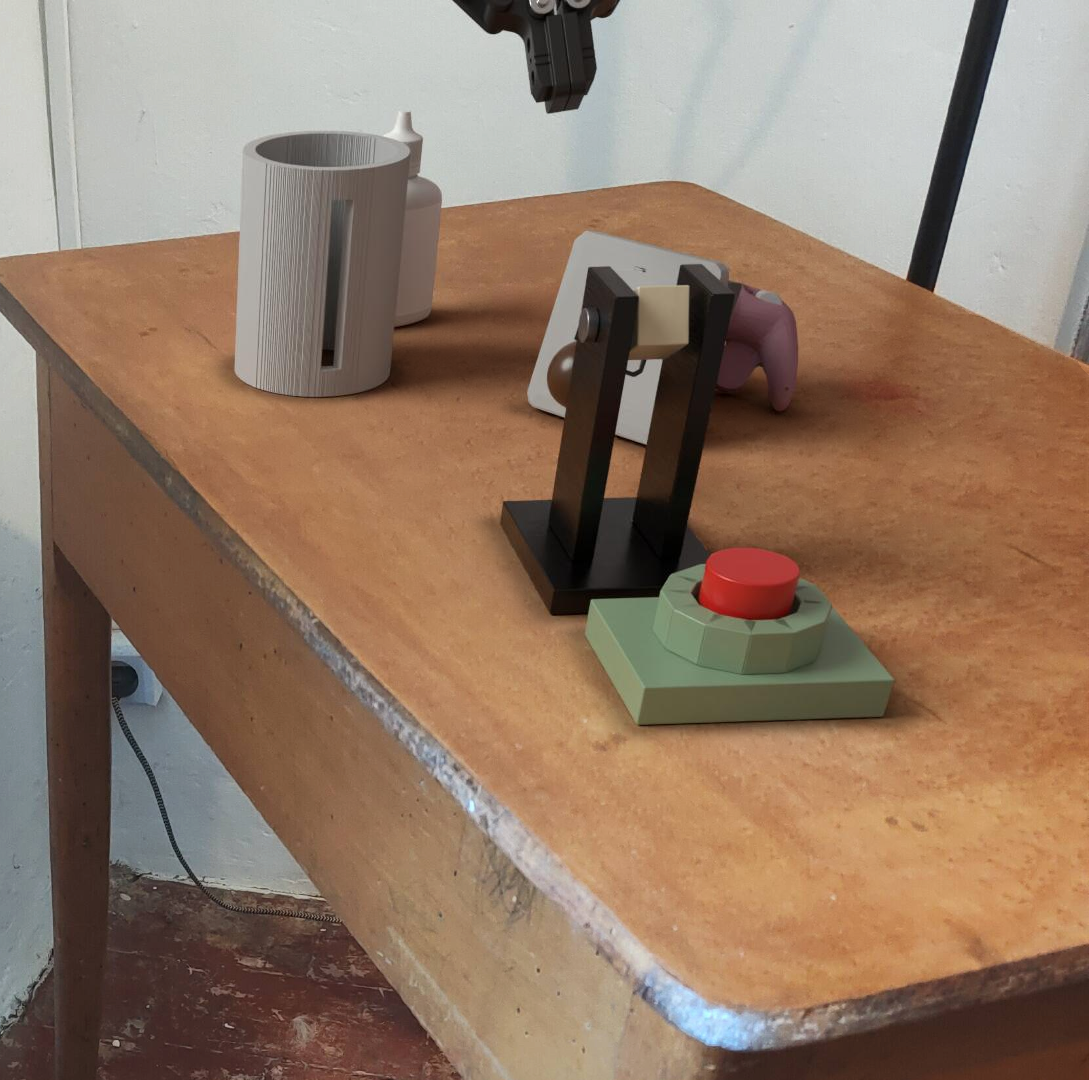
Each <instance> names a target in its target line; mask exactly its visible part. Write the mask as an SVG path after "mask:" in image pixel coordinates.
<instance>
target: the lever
mask: <svg viewBox="0 0 1089 1080" xmlns="http://www.w3.org/2000/svg"><path fill="white" fill-rule="evenodd" d="M689 291H690V287H689V285H677V286H642V287H638V288H637V289H635V290H634V292H635V293H636V294H637V295H638V296H639V302H638V307H637V313H636V319H635V324H634V330H633V336H632V341H631V347H630V353H629V358H628V360H652V359H666V358H668V357H669V356H671V355H672V354H674V353H675V352H677V351H678V350H680V349H681V348H683V347H684V346H686V345H688V343H689ZM576 342H577V341H574V342H572V343H569V344H567V345H565V346H564V347H563V348H561V349H560V350H559V351H558V352H557V353H556V354H555V356H554V357H553V359H552V360H551V362H550V365H549V368H548V372H547V385H548V389H549V392H550V394H551V396H552V397H553V398H554V400H555V401H556V402H557V403H559V404H560V405H562V406H563V407H565V408H566V406H567V399H568V393H569V387H570V380H571V374H572V367H573V361H574V355H575V348H576Z"/></svg>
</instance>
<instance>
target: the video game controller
mask: <svg viewBox="0 0 1089 1080" xmlns="http://www.w3.org/2000/svg"><path fill="white" fill-rule="evenodd" d="M737 282H738V281H737ZM738 283H741V282H738ZM741 286H742V288H741V291H740V294H739V297H738V300H737V302H736V305H735V308H734V311H733V314H732V316H731V319H730V322H729V327H728V332H727V336H726V341H725V346H724V351H723V356H722V360H721V365H720V370H719V375H718V379H717V384H716V389H715V390H717V391H719V392H722V393H731V392H734V391H737V390H739V389H740V388H741V387H743V386H744V384H746V382H747V381H748V379H750V377H751V375H752V374H753V372H754V371H755V369H757V368H758V367H760V368H762V370H763V372H764V374H765V378H766V385H767V391H768V392H767V393H768V397H769V401H770V404H771V406H772V407H773V409H774V410H776V411H777V412H781V411H782V412H783V411H784V410H786V408H787V407H788V406H789V405H790V403H791V401H792V399H793V396H794V393H795V388H796V383H797V375H798V374H797V373H798V366H799V364H798V363H799V340H798V327H797V320H796V316H795V314H794V311H793V310H792V309H791V307H790V306H789V305H787V303H785V302H784V300H783V299H782V297H781V296H780V294H778V293H777V292H775V291H769V290H765V289H760V288H757V287H754V286H750V285H747V284H745V283H742V285H741Z"/></svg>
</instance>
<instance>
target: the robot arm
mask: <svg viewBox="0 0 1089 1080" xmlns="http://www.w3.org/2000/svg"><path fill="white" fill-rule="evenodd" d="M451 1H452V2H453V3H454V4H456V5H457V6H458V7H459V9H461V10H462V11H463V12H464V14H466V15H467V16H468V17H469V18H470V19H471V20H472V21H473V22H474V23H476V24H477V26H479V28H481V29H482V30H483V32H485V33H486V34H489V35H498V34H500V33H502V32H503V31H504V32H509V33H513V34H516V35H518V37H520V39H521V40H522V41H523V45H524V52H525V60H526V67H527V73H528V81H529V88H530V90H529V91H530V95H531V96H532V98H533V100H534V101H535V103H536V104H539V103H544V107H545V112H546V114H547V115H548V114H549V115H550V114H555V113H563V112H568V111H575V110H578V109H579V108H580V106H581V104H582V102H583V99H584V97H585V96H588V94H589V92H590V90H591V88H592V85H593V83H594V81H595V78H596V74H597V69H598V65H597V57H596V50H595V43H594V36H593V35H594V34H593V28H592V20H594V19H596V18H598V19H607V18H609V17H610V16H612V15H613V13H614V12H615V10H616V8H617V7H618V5H619V3H620V2H621V0H451Z"/></svg>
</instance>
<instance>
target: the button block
mask: <svg viewBox="0 0 1089 1080" xmlns="http://www.w3.org/2000/svg"><path fill="white" fill-rule="evenodd" d="M705 566H706V564H700V565H697V566H694V567H691V568H688V569H685V570H682V571H679V572H676V573H673V574H671V575H670V576H669V578H668V579H667V581H666V583H665V584H664V586H663V588H662V589H661V591H660V595H659V597H650V598H618V599H592V600H591V602H590V607H589V613H587V618H586V619H587V620H586V625H585V629H584V631H585V632H584V636H585V638H586V639H587V641H588V643H589V644H590V646H591V648H592V650H593V652H594V653H595V655H596V656H597V658H598V660H599V662H600V663H601V665H602V668H603V669H604V670H605V673H606V674H607V676H608V677H609V679H610V680H611V683H612V684H613V686H614V688H615V690H616V691H617V693H618V695H619V697H620V698H621V700H622V702H623V703H624V706H625V708H627V710H628V712H629V714H630V715H631V717H632V719H633V720H634V723H635V724H636V725H638V726H641V725H642V726H646V725H673V724H674V725H675V724H701V723H702V724H703V723H705V724H706V723H733V722H736V723H737V722H764V721H766V722H768V721H794V720H796V721H798V720H822V719H823V720H827V719H829V720H830V719H853V718H859V719H860V718H883V717H884V715H885V712H886V709H887V706H888V702H889V699H890V695H891V693H892V689H893V686H894V682H895V679H894V677H893V676H892V675H891V674H890V672H889V671H888V670H887V669H886V668H885V667H884V665H883V664H882V663H881V662H880V660H878V659H877V657H876V656H875V655H874V654H873V653H872V651H871V650H870V649H869V648H868V647H867V645H866V644H865V643H864V642H863V641H862V639H861V637H859V635H857V634H856V632H855V631H854V630H853V629H852V628H851V626H850V625H849V624H848V623H847V622H846V620H844V619H843V617H842V616H841V614H840V613H839V612H838V611H837V610H836V609H835V607H834V606H833V603H832V602H831V601H830V599H829V598H828V597H827V596H826V595H825V594H824V592H823V591H822V590H821V589H820V588H819V586H817V585H816V584H814V583H812V582H810V581H807V580H805V579H803V578H800V577H799V580H798V584H797V588H796V592H795V596H794V600H793V604H792V608H791V611H790V613H789V615H788V616H786V617H783V618H780V619H778V620H745V619H740V618H735V617H730V616H724V615H719V614H717V613H715V612H713V611H711V610H709V609H707V608H705V607H703V606H701V605H700V604H699V594H700V589H701V584H702V580H703V575H704V571H705Z"/></svg>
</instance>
